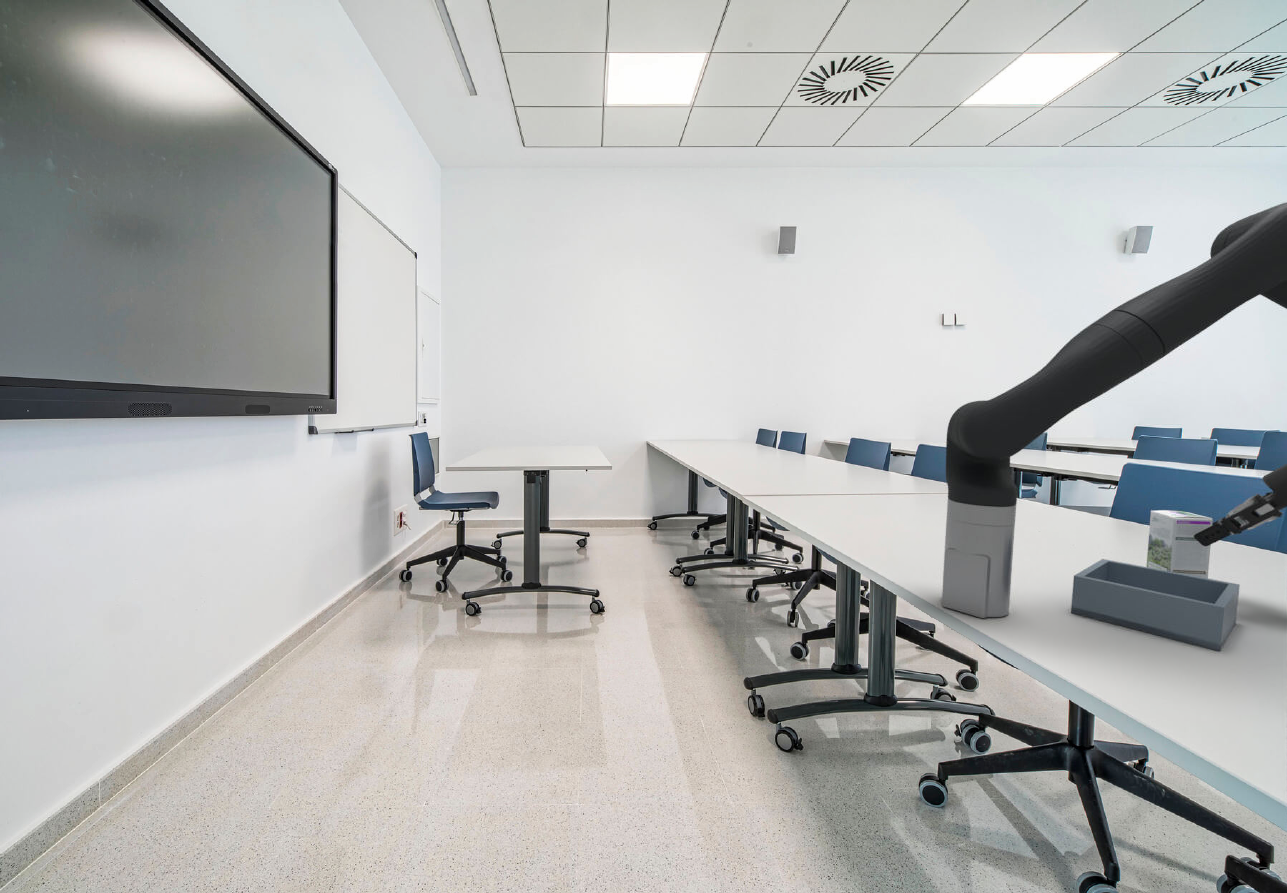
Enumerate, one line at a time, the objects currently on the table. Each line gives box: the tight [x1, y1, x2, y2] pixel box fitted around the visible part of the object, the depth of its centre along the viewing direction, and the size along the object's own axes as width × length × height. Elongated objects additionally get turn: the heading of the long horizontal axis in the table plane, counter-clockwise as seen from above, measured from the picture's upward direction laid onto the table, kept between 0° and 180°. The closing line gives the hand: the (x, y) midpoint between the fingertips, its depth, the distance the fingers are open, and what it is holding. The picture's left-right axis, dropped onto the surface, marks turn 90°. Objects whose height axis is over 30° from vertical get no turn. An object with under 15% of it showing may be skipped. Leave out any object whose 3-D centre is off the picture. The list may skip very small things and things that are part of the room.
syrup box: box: [1146, 509, 1214, 579], centre depth 91 cm, size 6×6×14 cm
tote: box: [1070, 558, 1241, 652], centre depth 81 cm, size 16×16×6 cm
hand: (1203, 537), depth 89 cm, fingers open, 8 cm apart
